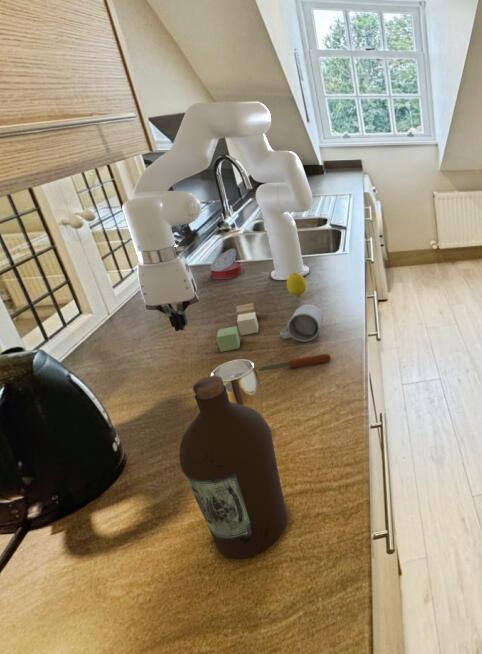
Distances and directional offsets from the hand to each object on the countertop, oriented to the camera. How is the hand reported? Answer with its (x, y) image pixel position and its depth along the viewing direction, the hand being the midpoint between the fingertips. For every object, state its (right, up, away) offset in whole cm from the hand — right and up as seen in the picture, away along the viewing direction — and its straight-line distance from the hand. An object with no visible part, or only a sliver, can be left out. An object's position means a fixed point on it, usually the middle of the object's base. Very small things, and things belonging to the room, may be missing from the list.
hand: (180, 328), depth 107 cm
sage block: (+9, -5, +6) cm, 12 cm away
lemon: (+16, +7, +33) cm, 37 cm away
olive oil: (+37, -25, -43) cm, 62 cm away
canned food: (-17, +14, +53) cm, 58 cm away
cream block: (+10, -2, +13) cm, 17 cm away
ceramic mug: (+26, -3, +10) cm, 28 cm away
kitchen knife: (+29, -9, -4) cm, 30 cm away
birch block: (+7, 0, +19) cm, 20 cm away
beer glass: (+29, -18, -26) cm, 43 cm away
